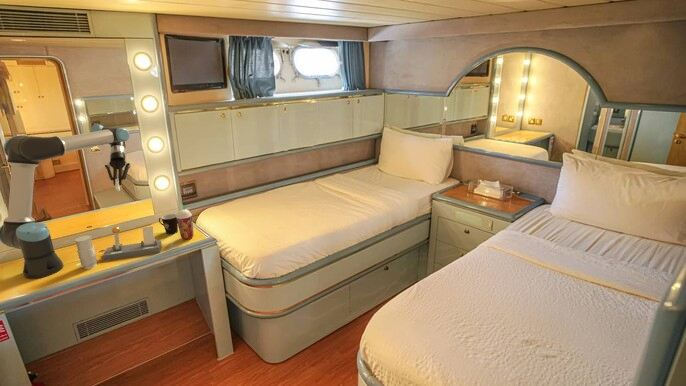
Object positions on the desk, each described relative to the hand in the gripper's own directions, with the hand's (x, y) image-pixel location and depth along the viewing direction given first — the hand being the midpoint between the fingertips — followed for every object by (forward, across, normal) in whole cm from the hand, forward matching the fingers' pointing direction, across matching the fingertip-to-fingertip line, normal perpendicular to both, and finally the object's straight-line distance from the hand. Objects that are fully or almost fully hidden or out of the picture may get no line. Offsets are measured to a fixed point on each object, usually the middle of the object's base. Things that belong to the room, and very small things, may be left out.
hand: (117, 190), depth 209 cm
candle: (+43, +11, +2) cm, 45 cm away
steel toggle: (+35, 0, -2) cm, 35 cm away
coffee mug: (+20, -23, -21) cm, 37 cm away
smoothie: (+30, -33, -12) cm, 46 cm away
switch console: (+37, -7, -4) cm, 38 cm away
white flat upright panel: (+35, -15, -2) cm, 38 cm away
